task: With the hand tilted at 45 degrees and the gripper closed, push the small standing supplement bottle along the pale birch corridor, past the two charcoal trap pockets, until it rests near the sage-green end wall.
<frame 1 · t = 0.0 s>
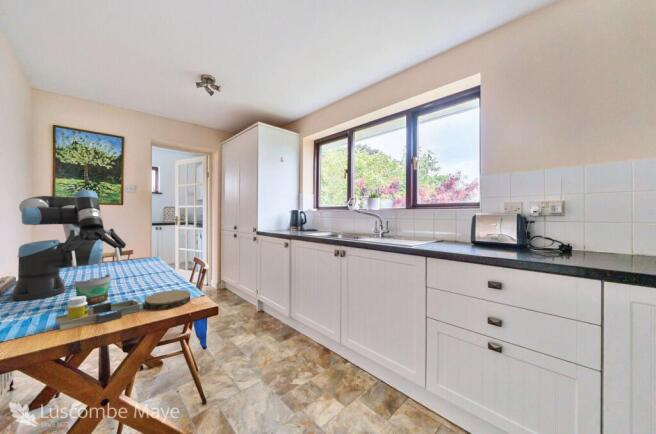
hand: (98, 264, 102), 15 cm above the table, tool tilted 35°, fingers open, 13 cm apart
supplement bottle: (77, 323, 83), resting in trap box
brown round disc: (168, 303, 103), on the table
food container: (97, 303, 101), on the table
trap box: (102, 316, 88), on the table
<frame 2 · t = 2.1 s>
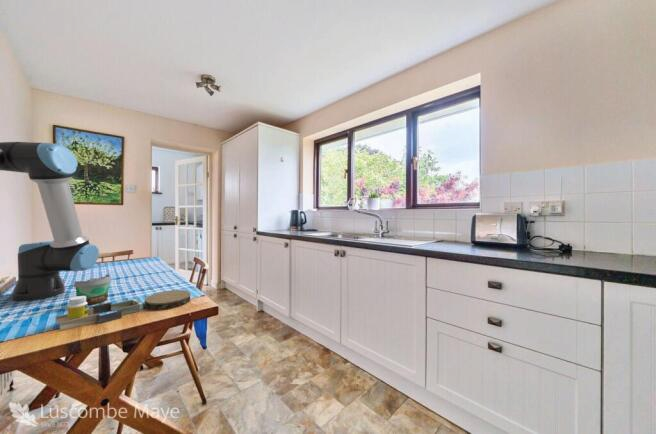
nothing on the table moved.
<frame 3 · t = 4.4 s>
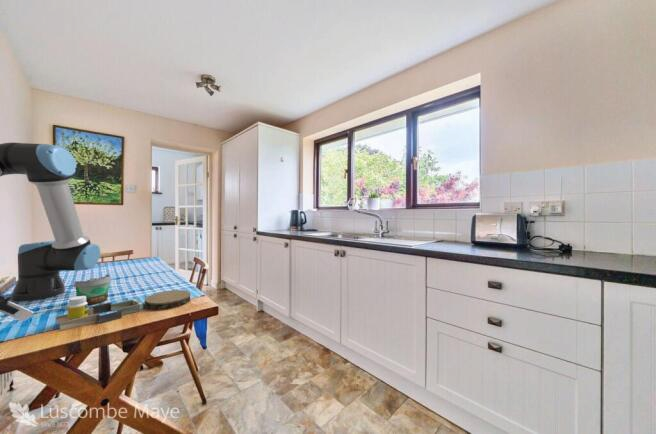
hand: (28, 316, 74), 6 cm above the table, tool tilted 45°, fingers closed
nothing on the table moved.
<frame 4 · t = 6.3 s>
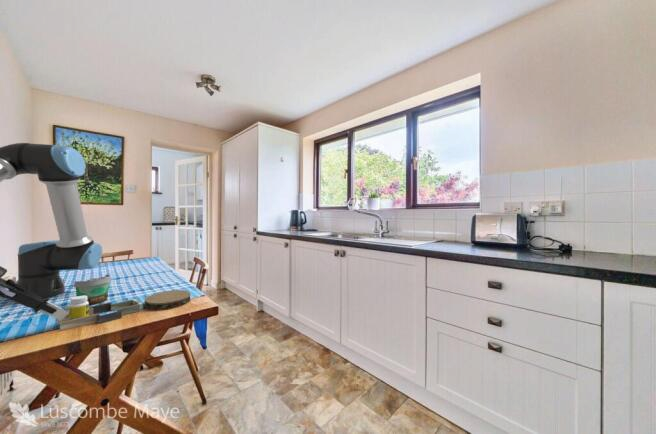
hand: (64, 316, 80), 3 cm above the table, tool tilted 45°, fingers closed
supplement bottle: (78, 322, 83), resting in trap box, touching gripper
everything else where it was.
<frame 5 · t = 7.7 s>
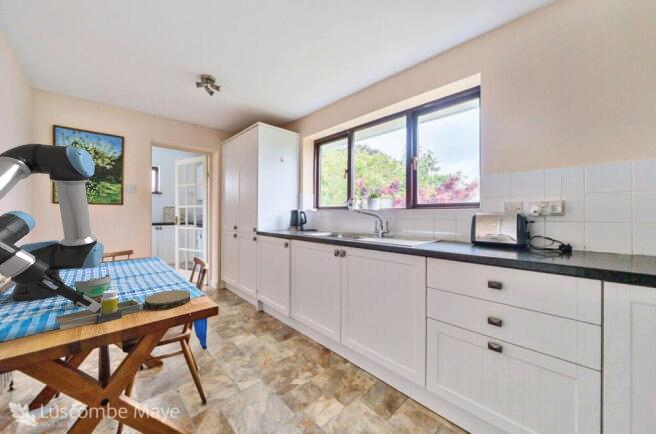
hand: (98, 308, 87), 3 cm above the table, tool tilted 45°, fingers closed
supplement bottle: (109, 315, 90), resting in trap box, touching gripper
everything else where it was.
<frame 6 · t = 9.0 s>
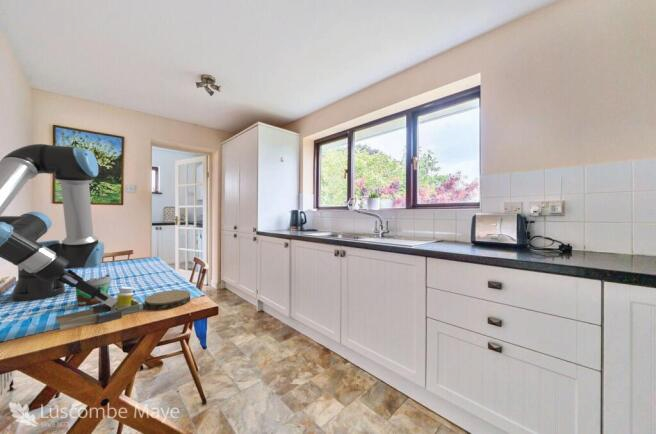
hand: (113, 303, 90), 4 cm above the table, tool tilted 45°, fingers closed
supplement bottle: (121, 311, 93), resting in trap box, touching gripper
everything else where it was.
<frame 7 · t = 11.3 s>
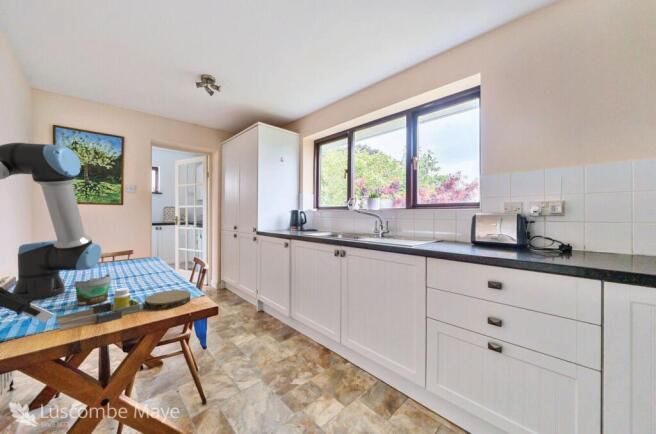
hand: (49, 318, 78), 4 cm above the table, tool tilted 45°, fingers closed
supplement bottle: (121, 312, 93), resting in trap box
everything else where it was.
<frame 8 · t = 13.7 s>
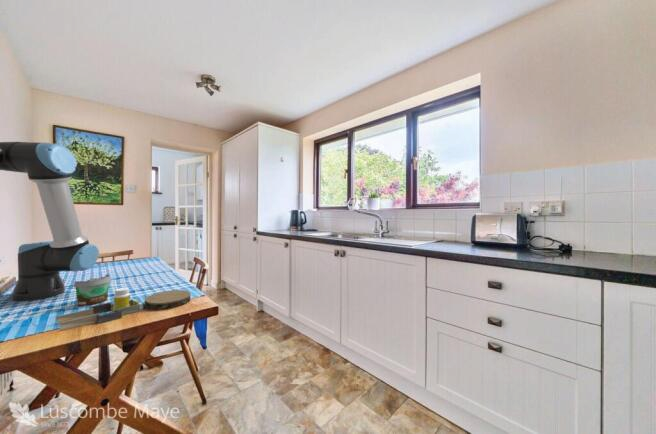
nothing on the table moved.
at the end: supplement bottle 1.5 cm from the target spot, resting in trap box; supplement bottle tilted 0° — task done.
